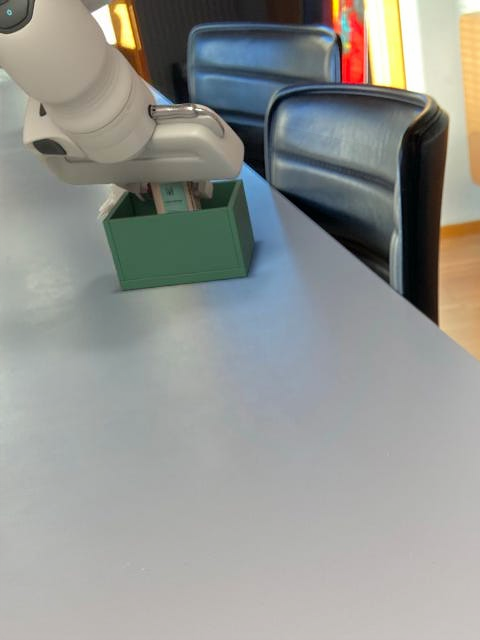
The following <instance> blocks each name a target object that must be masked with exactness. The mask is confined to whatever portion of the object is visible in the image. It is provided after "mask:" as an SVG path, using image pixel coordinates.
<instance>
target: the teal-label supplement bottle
mask: <svg viewBox="0 0 480 640" xmlns="http://www.w3.org/2000/svg"><path fill="white" fill-rule="evenodd" d="M193 184H194V183H193V182H192V181H178V182H150V186H151V190H152V194H153V198H154V202H155V206H156V210H157V214H165V213H174V212H184V211H193V210H202V208H201V203H200V199H197V198H196V195H194V194H193V193H192V185H193Z"/></svg>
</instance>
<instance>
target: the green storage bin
mask: <svg viewBox="0 0 480 640" xmlns="http://www.w3.org/2000/svg"><path fill="white" fill-rule="evenodd" d="M211 182H212V184H213V193H212V198H211V199H200V203H201V208H202V210H193V211H184V212H174V213H165V214H157V210H156V206H155V202H154V200H149V201H141V200H140V199H139V197H138V196H137V195H136V194H135V193H132V192H129V191H125V192H124V193H123V194H122V196H121V197H120V198H119V200H118V201H117V202H116V204H115V205H114V207H113V208H112V209H111V211H110V212H109V213H108V212H107V215H105V216H104V219H103V220H102V227H103V229H104V233H105V236H106V238H107V244H108V246H109V250H110V255H111V257H112V261H113V265H114V267H115V271H116V275H117V278H118V281H119V285H120V289H121V291H128V290H129V291H131V290H139V289H140V290H141V289H148V288H149V289H150V288H157V287H166V286H176V285H185V284H194V283H201V282H202V283H203V282H212V281H219V280H220V281H221V280H229V279H239V278H246V277H247V276H248V272H249V269H250V265H251V261H252V257H253V253H254V252H253V251H254V249H255V244H256V241H255V236H254V230H253V225H252V220H251V216H250V210H249V206H248V201H247V196H246V190H245V185H244V180H243V179H242V178H239V179H238V178H237V179H233V180H218V181H211Z"/></svg>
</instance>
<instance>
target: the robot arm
mask: <svg viewBox="0 0 480 640" xmlns="http://www.w3.org/2000/svg"><path fill="white" fill-rule="evenodd" d="M114 1H115V0H0V67H1V69H3V71H4V72H5V73H6V74H7V75H8V76H9V77H10V78H11V80H12V81H13V82H14V83H15V84H16V85H17V86H18V87H19V88H20V89H21V90H22V92H24V94H26V96H28V98H27V101H26V102H27V103H26V108H25V113H24V121H23V128H22V129H23V131H22V143H23V145H24V148H26V149H27V150H29V151H30V152H31V153H33V154H35V155H36V157H37V159H38V160H39V161H40V162H41V163H42V164H43V166H45V168H46V169H47V170H48V171H49V172H51V173H52V174H53V176H55V178H57V179H58V180H60V181H62V182H64V183H67V184H70V185H73V186H86V185H87V186H89V185H112V184H115V185H116V186H118V187H120V188H123V189H125V190H127V191H129V192H132V193H135V194H136V195H137V196H138V197H139V199H140V200H141V201H149V200H154V198H153V194H152V190H151V186H150V182H178V181H192V182H193V183H194V184H193V185H192V193H193V194H194V195H196V198H197V199H211V198H212V193H213V184H212V182H213V181H228V180H238V178H239V176H240V175H241V172H242V171H243V166H244V165H243V164H244V156H245V145H244V143H243V141H242V140H241V137H239V136H238V134H237V133H236V132H235V131H234V130H233V129H232V128H231V126H230V125H228V123H227V122H226V120H224V119H223V118H222V117H221V116H220V115H219V114H218V113H216V112H215V111H214V110H213V109H212V108H210V107H208V106H206V105H203V104H198V103H189V102H188V103H187V102H186V103H185V102H184V103H181V104H180V103H179V104H158V103H157V100H156V98H155V96H154V93H153V92H152V91H151V90H150V88H149V87H148V86H147V84H146V82H145V81H144V80H143V78H141V76H140V75H139V74H138V72H137V71H136V70H135V68H134V67H133V66H132V65H131V63H130V62H129V61H128V59H127V58H126V57H125V56H124V54H123V53H122V52H121V51H120V50H119V49H117V47H115V46H113V45H112V44H111V43H109V42H108V41H107V37H106V35H105V33H104V30H103V28H102V27H101V25H100V24H99V22H98V21H97V20H96V18H95V16H94V15H93V14H92V13H94V12H97V11H98V10H100V9H102V8H103V7H105V6H107V5H108V4H111V3H112V2H114Z"/></svg>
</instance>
